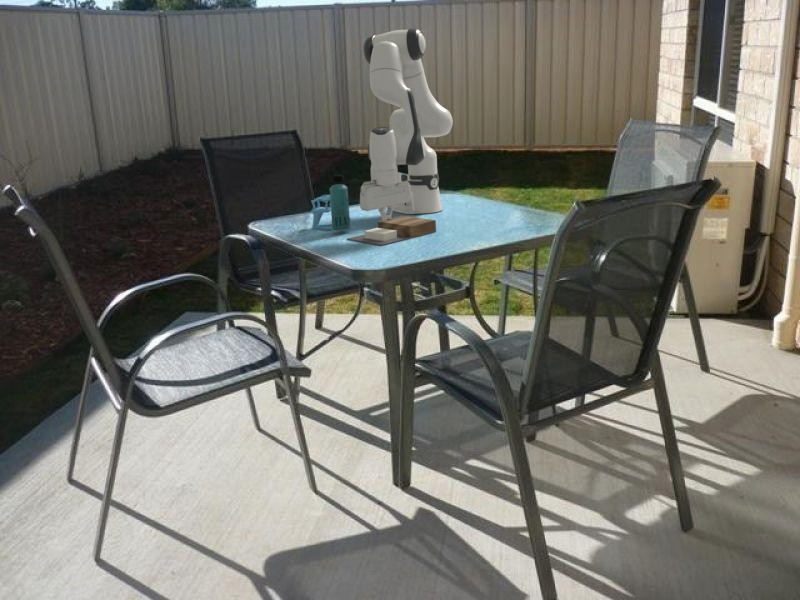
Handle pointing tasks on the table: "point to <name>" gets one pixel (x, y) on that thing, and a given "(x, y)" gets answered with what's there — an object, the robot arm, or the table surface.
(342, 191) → the beverage bottle
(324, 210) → the chair
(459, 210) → the table surface
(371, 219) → the table surface
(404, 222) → the block
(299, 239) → the table surface
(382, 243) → the charcoal mat
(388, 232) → the cream tile
